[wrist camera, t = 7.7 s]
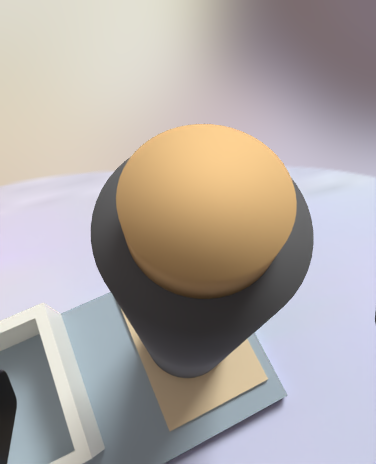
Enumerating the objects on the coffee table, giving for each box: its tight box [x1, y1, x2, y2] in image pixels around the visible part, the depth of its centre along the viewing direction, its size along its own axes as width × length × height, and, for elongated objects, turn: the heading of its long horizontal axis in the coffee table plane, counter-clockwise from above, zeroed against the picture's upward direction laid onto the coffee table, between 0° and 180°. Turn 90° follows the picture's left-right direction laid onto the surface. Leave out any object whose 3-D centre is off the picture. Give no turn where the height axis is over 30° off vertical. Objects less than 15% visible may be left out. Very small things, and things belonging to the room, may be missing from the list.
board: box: [0, 292, 287, 464], centre depth 16 cm, size 8×15×3 cm, turn 115°
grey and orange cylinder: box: [91, 124, 313, 378], centre depth 11 cm, size 4×4×13 cm
